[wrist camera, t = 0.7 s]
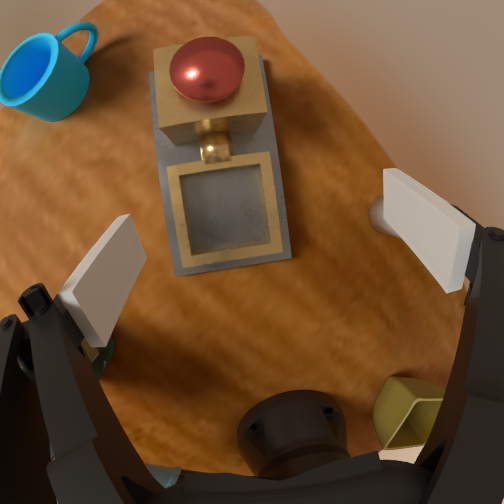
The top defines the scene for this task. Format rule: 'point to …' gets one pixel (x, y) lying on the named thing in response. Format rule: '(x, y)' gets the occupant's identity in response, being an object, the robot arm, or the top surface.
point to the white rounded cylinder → (381, 218)
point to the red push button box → (217, 155)
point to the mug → (47, 75)
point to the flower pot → (406, 412)
